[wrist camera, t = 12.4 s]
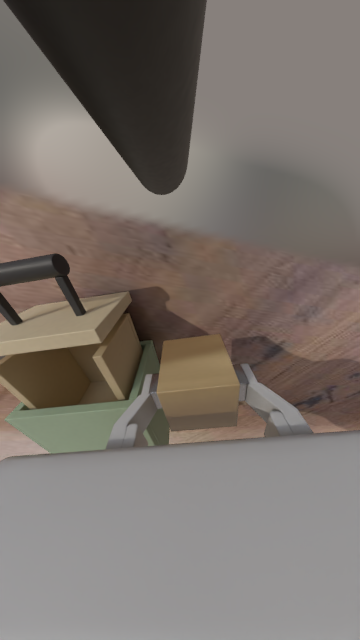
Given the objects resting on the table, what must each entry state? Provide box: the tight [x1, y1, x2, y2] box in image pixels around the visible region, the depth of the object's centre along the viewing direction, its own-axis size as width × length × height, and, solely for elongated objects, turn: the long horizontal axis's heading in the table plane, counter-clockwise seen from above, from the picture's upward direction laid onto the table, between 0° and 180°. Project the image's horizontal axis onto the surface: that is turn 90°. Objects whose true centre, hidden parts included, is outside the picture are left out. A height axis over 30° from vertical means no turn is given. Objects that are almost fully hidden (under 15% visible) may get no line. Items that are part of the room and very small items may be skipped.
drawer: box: [0, 254, 143, 410], centre depth 16 cm, size 18×11×8 cm, turn 9°
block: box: [157, 334, 240, 431], centre depth 11 cm, size 4×4×4 cm
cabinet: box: [5, 340, 170, 453], centre depth 21 cm, size 15×13×10 cm
